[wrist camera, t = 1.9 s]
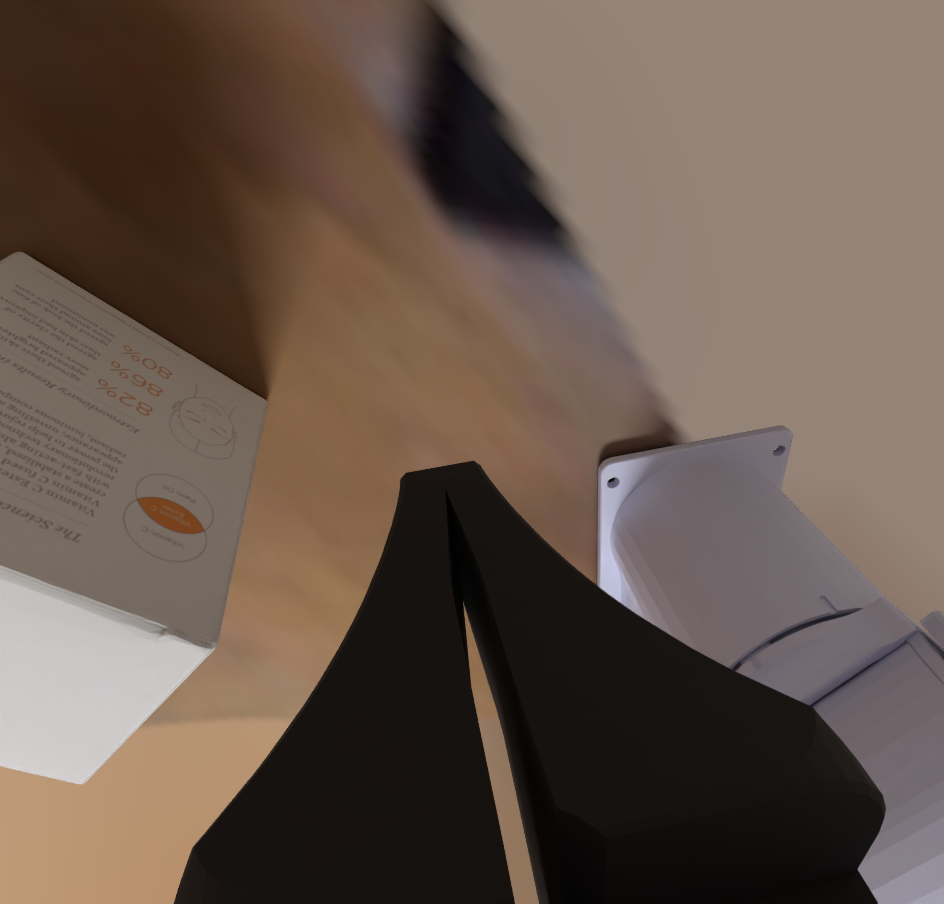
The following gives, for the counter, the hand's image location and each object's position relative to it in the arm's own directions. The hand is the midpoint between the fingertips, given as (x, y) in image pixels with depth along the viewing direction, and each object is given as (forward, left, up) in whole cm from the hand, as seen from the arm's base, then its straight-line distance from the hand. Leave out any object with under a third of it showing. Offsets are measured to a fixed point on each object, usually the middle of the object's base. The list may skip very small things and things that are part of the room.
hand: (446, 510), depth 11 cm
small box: (-1, +10, -11) cm, 14 cm away
